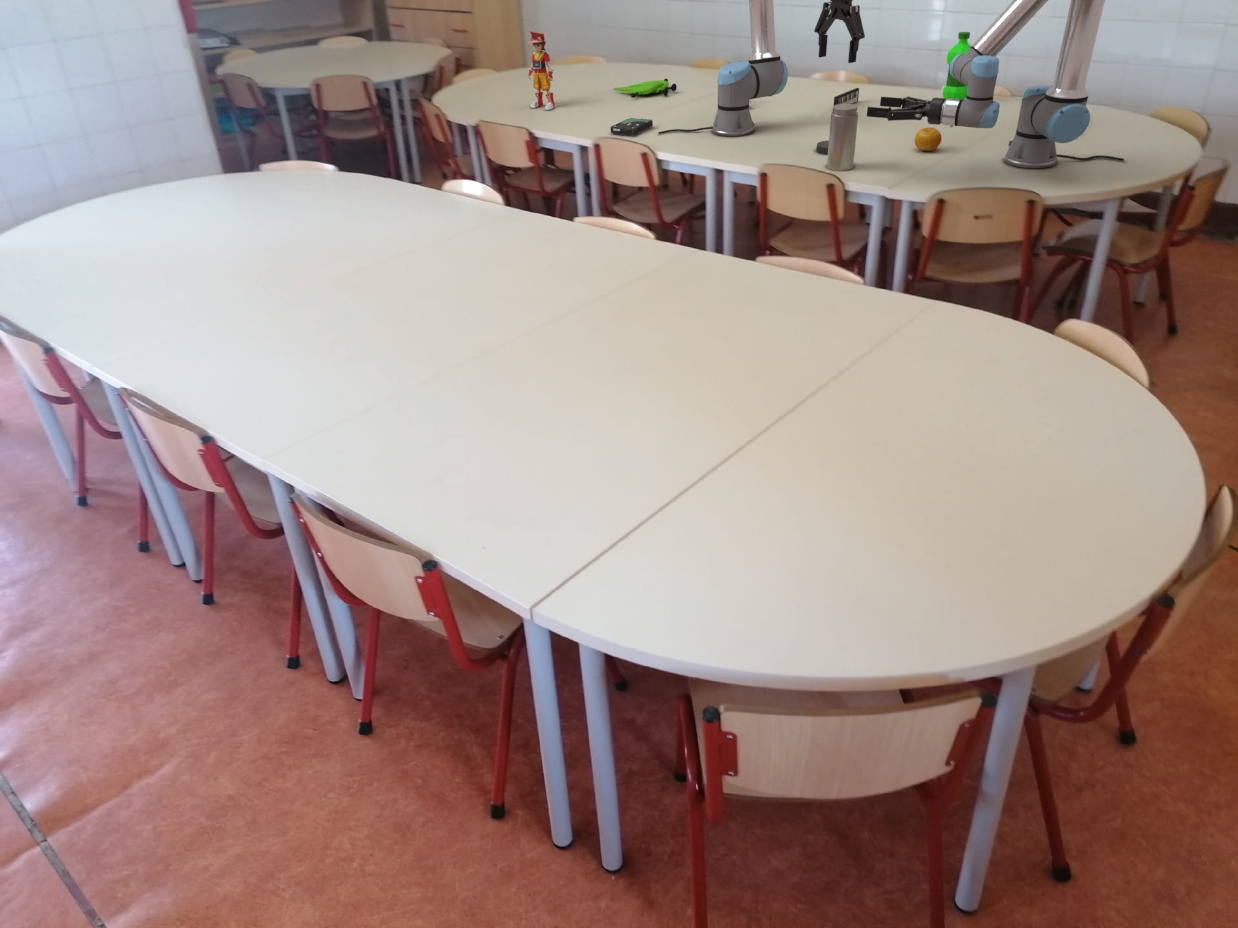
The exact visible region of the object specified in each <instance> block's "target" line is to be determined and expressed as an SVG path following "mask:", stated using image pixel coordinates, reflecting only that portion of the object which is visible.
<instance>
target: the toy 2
mask: <svg viewBox="0 0 1238 928" xmlns="http://www.w3.org/2000/svg"><path fill="white" fill-rule="evenodd" d="M669 85H670V83H669V79H668V78H664V79H663V80H649V81H644V82H640V83H634V84H629V85H627V86H621V87H613V88H612V89H613V90H616V91H619V92H623V93H627V94H628V93H629V94H631V95H630V96H631V98H632V99H634V98H636V96H637V95H650V94H652V93H654V94H658V93H662V95H663V96H665V97H667V96H668V95H669V90H671V91H672V92H676V91H677V84H676V83H672V84H671V86H669Z"/></svg>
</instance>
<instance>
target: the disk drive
mask: <svg viewBox="0 0 1238 928" xmlns="http://www.w3.org/2000/svg"><path fill="white" fill-rule="evenodd" d="M651 128H653V119H647V118H637V117H636V118H635V117H629V118H627V119H624V120H621V121H619V122H618V123H615V124H613V125H612V126H610V134H613V135H614V134H615V135H620V136H636V135H638V134H640V133H642V132H644V131H646V130H649V129H651Z"/></svg>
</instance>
